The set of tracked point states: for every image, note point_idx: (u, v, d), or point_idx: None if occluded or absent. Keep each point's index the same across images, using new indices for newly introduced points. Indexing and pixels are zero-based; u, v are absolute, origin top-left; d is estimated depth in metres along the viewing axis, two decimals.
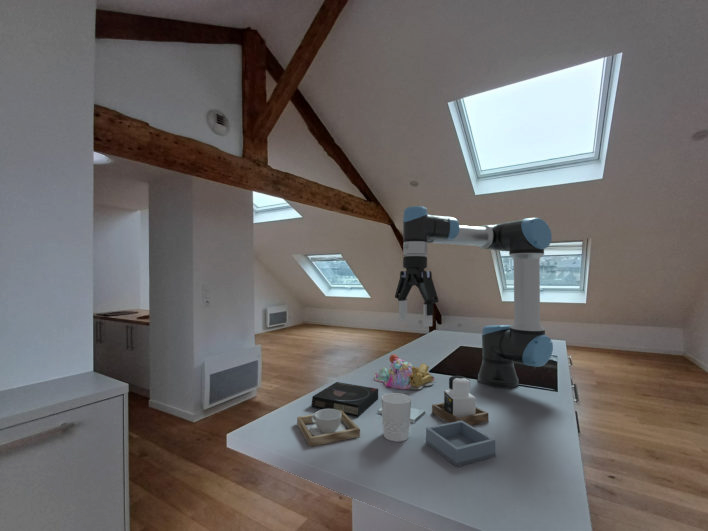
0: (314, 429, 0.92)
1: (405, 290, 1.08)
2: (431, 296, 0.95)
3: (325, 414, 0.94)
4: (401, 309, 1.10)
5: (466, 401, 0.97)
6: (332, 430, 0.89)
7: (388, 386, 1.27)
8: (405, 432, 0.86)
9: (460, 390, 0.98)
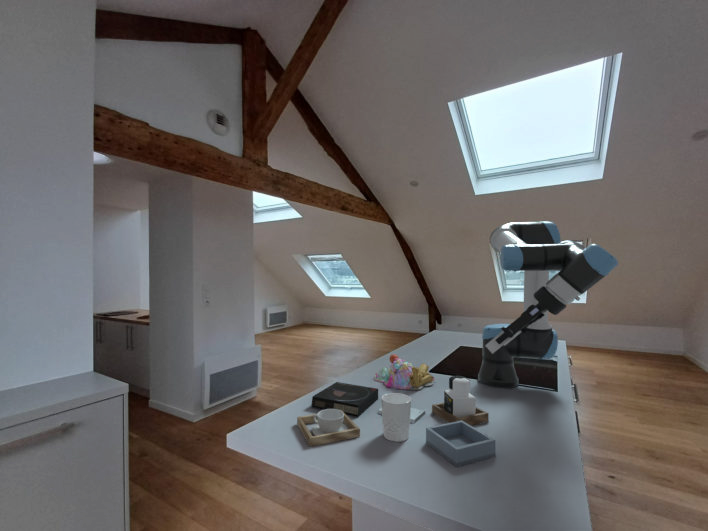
0: (317, 429, 0.91)
1: None
2: None
3: (327, 414, 0.94)
4: None
5: (466, 401, 0.97)
6: (334, 430, 0.89)
7: (388, 386, 1.27)
8: (405, 432, 0.86)
9: (460, 390, 0.98)
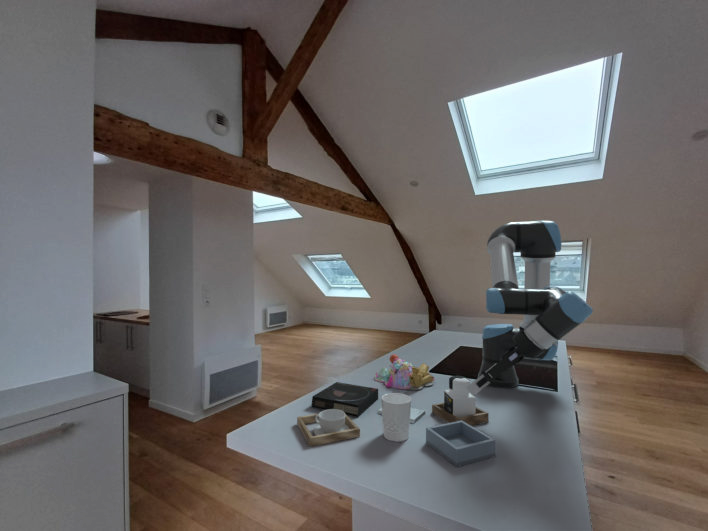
0: (318, 429, 0.91)
1: None
2: None
3: (329, 414, 0.94)
4: None
5: (466, 401, 0.97)
6: (336, 431, 0.88)
7: (388, 386, 1.27)
8: (405, 432, 0.86)
9: (460, 390, 0.98)
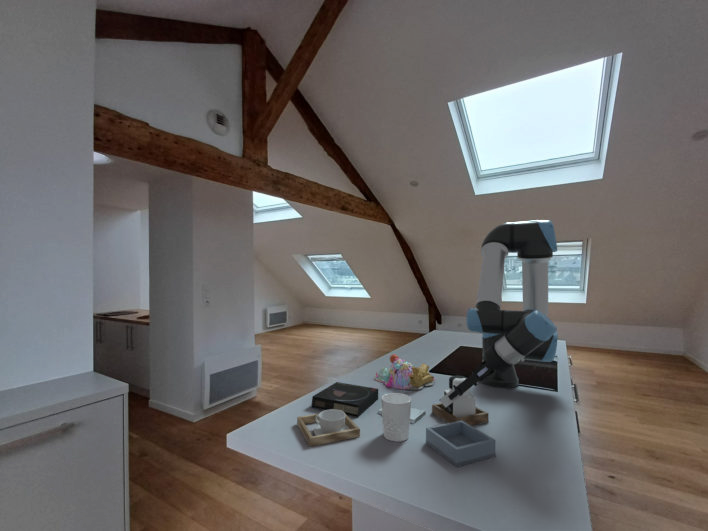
0: (319, 429, 0.91)
1: None
2: None
3: (329, 415, 0.94)
4: None
5: (466, 401, 0.97)
6: (336, 431, 0.88)
7: (388, 386, 1.27)
8: (405, 432, 0.86)
9: None
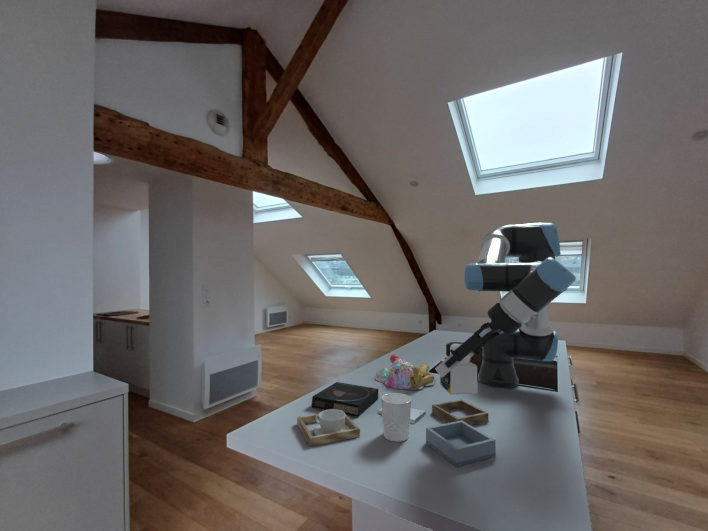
0: (319, 429, 0.91)
1: None
2: None
3: (329, 415, 0.94)
4: None
5: (466, 370, 0.82)
6: (336, 431, 0.88)
7: (389, 386, 1.27)
8: (405, 432, 0.86)
9: None
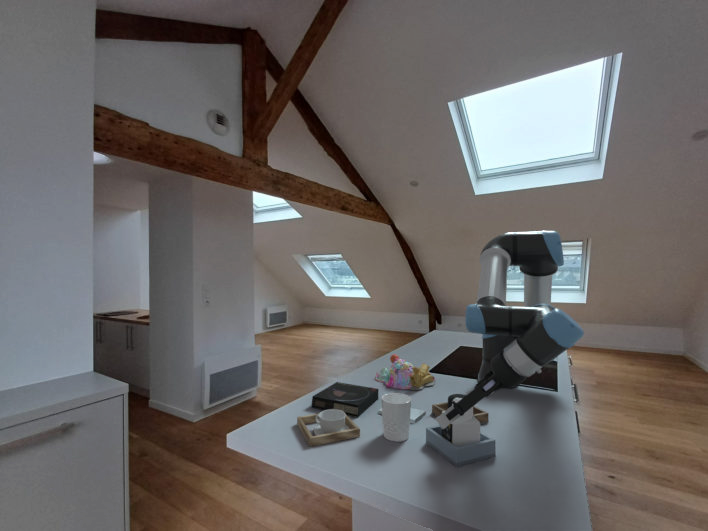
0: (319, 429, 0.91)
1: None
2: None
3: (329, 415, 0.94)
4: None
5: (469, 427, 0.79)
6: (336, 431, 0.88)
7: (389, 386, 1.27)
8: (405, 432, 0.86)
9: None
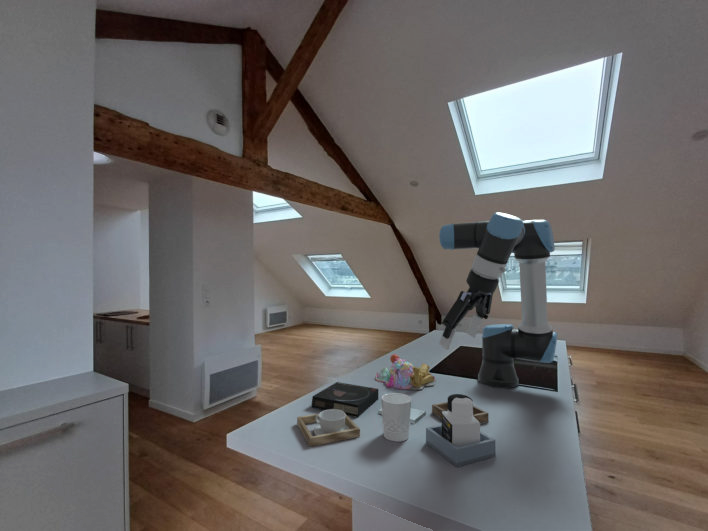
0: (319, 429, 0.91)
1: None
2: None
3: (329, 415, 0.94)
4: None
5: (469, 427, 0.79)
6: (336, 431, 0.88)
7: (389, 386, 1.27)
8: (405, 432, 0.86)
9: (461, 413, 0.79)
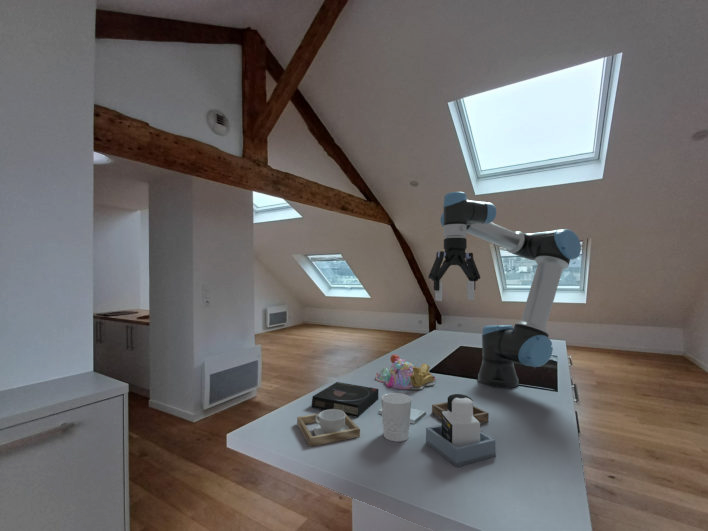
0: (318, 429, 0.91)
1: None
2: None
3: (329, 415, 0.94)
4: None
5: (469, 427, 0.79)
6: (336, 431, 0.88)
7: (389, 386, 1.27)
8: (405, 432, 0.86)
9: (461, 413, 0.79)
